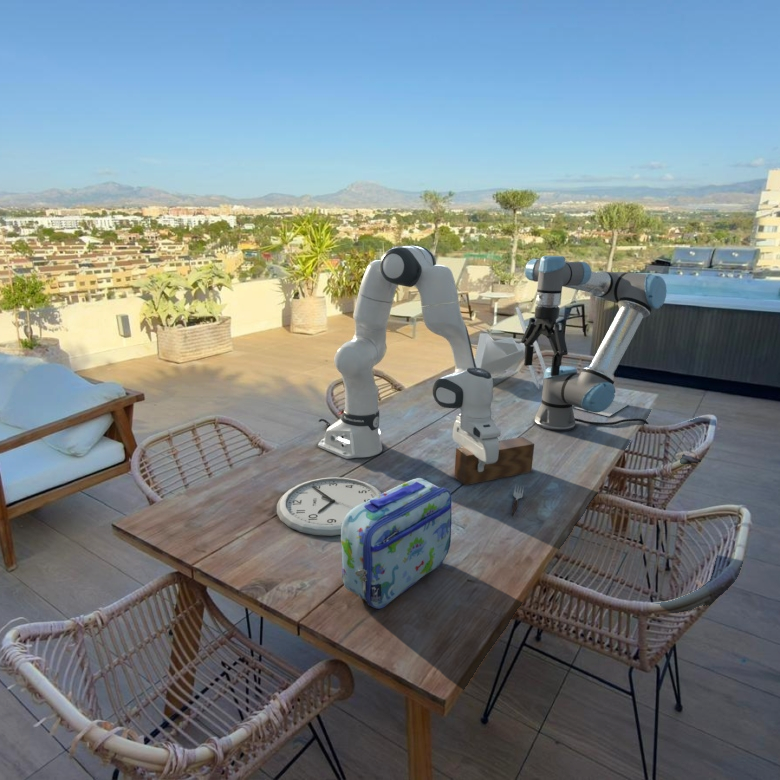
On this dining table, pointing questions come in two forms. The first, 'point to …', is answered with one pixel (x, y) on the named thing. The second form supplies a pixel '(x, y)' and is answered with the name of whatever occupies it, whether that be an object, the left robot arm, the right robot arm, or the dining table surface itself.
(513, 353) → the white plastic object
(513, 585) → the dining table surface
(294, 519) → the wall clock
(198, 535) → the dining table surface
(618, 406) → the invitation card
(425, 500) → the lunch box
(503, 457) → the box
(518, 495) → the fork
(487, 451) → the left robot arm
